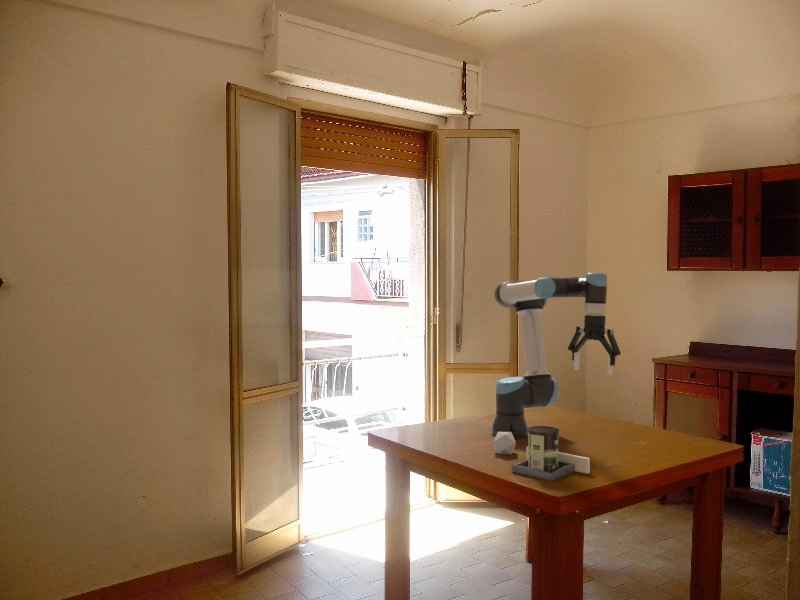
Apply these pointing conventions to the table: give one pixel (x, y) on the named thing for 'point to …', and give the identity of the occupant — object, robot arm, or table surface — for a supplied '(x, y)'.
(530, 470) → the grey square tray
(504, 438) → the die
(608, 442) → the table surface
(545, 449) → the coffee can
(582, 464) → the board
